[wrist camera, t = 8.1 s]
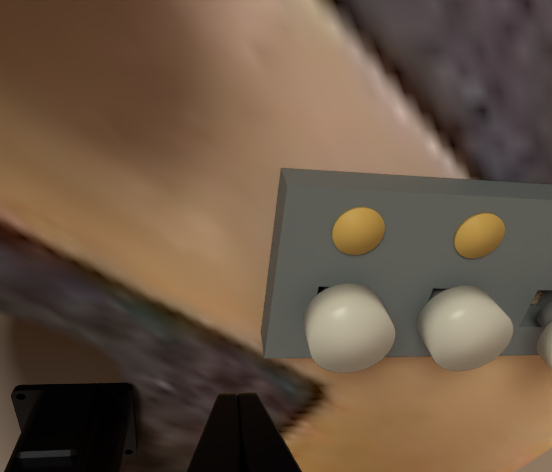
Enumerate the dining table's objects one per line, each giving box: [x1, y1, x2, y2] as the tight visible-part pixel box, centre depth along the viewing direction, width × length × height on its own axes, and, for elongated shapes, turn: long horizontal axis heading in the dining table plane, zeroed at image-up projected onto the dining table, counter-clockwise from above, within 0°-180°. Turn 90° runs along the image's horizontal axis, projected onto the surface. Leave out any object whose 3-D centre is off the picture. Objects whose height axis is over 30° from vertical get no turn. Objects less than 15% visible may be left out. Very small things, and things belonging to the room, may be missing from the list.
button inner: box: [303, 283, 395, 373], centre depth 21 cm, size 4×4×4 cm
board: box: [261, 168, 552, 358], centre depth 23 cm, size 10×19×2 cm, turn 84°
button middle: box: [417, 285, 513, 371], centre depth 22 cm, size 4×4×4 cm
